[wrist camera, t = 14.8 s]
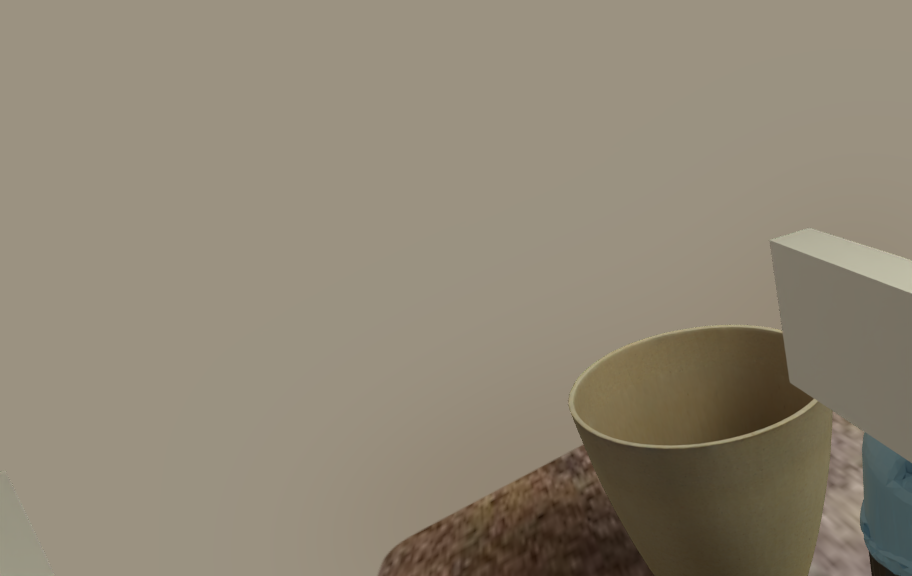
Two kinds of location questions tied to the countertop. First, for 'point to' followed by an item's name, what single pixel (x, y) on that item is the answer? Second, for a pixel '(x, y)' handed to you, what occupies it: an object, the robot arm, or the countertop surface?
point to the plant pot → (708, 451)
